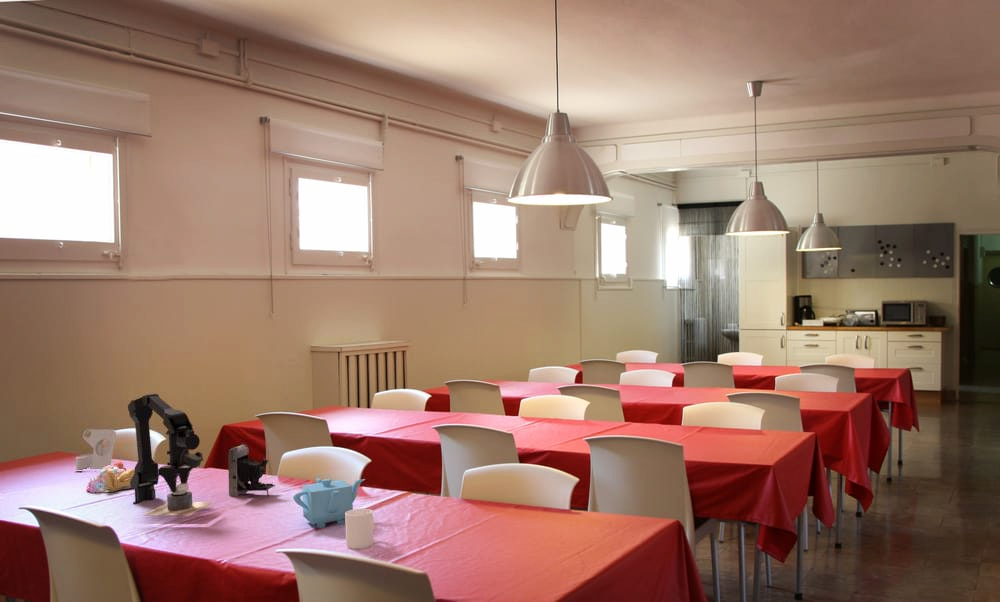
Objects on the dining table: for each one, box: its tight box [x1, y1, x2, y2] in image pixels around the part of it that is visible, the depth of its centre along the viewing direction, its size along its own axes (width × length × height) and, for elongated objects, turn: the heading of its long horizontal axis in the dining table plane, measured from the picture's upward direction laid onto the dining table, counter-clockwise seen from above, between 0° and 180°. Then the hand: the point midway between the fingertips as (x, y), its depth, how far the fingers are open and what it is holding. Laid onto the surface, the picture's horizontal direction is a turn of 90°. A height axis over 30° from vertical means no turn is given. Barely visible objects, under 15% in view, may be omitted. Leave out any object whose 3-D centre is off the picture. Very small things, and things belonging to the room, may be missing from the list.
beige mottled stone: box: [169, 482, 189, 495], centre depth 308 cm, size 6×7×3 cm
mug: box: [344, 508, 375, 550], centre depth 260 cm, size 12×8×10 cm
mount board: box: [143, 501, 213, 516], centre depth 307 cm, size 18×18×1 cm
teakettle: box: [293, 477, 366, 529], centre depth 285 cm, size 19×19×15 cm
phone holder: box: [75, 428, 117, 470], centre depth 389 cm, size 17×10×18 cm, turn 78°
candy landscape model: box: [85, 461, 134, 494], centre depth 353 cm, size 25×24×9 cm
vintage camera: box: [228, 443, 276, 497], centre depth 326 cm, size 10×16×20 cm, turn 78°
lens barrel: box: [166, 490, 193, 511], centre depth 308 cm, size 8×8×5 cm
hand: (179, 489), depth 308 cm, fingers closed on beige mottled stone, 7 cm apart
